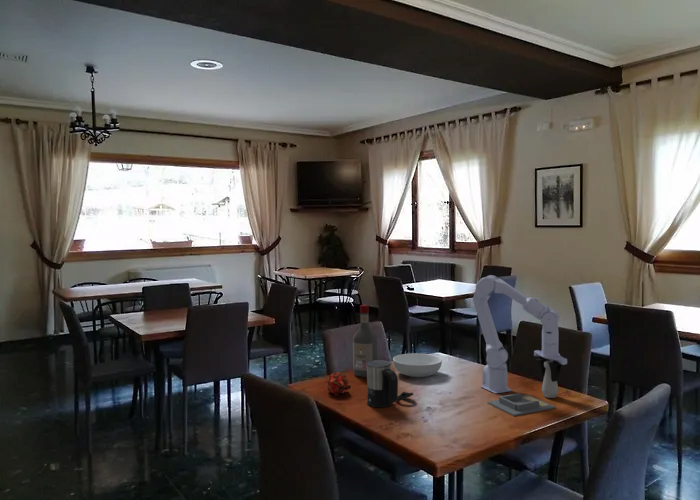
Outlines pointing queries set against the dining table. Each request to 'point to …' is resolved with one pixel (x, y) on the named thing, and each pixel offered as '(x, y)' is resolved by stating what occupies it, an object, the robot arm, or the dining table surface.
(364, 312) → the liquor
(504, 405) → the stand
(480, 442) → the dining table surface
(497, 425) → the dining table surface
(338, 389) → the dragon fruit
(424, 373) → the serving bowl
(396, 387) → the milk frother
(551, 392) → the salt shaker
